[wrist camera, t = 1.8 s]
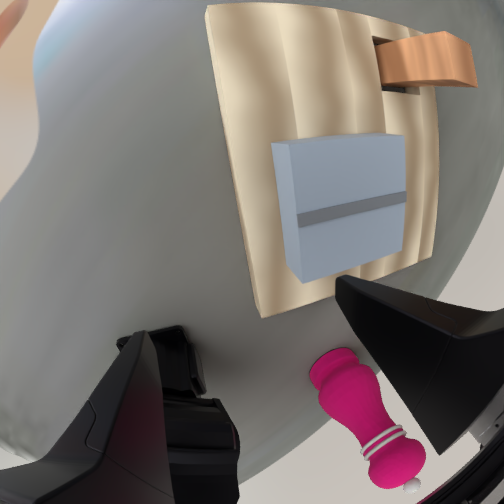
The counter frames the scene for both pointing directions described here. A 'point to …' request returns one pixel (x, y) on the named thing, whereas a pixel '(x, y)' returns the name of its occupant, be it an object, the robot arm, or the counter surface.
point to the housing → (340, 200)
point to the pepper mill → (367, 419)
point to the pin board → (313, 126)
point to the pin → (426, 62)
